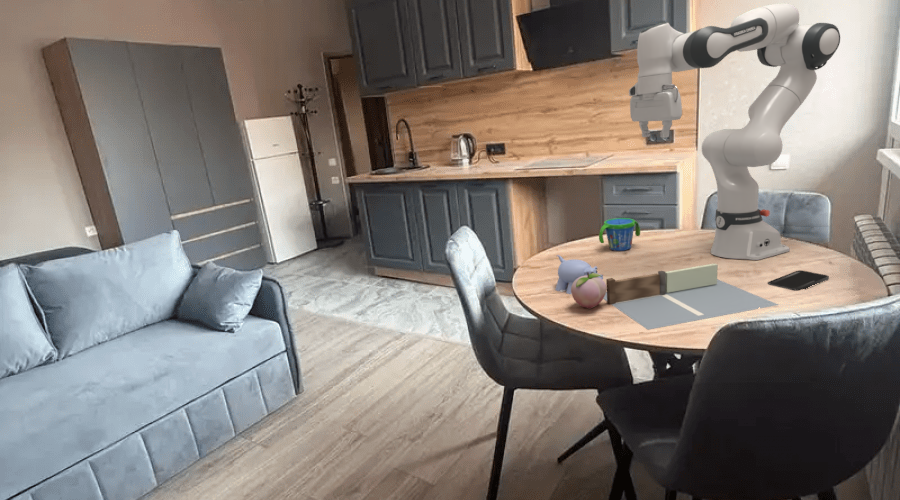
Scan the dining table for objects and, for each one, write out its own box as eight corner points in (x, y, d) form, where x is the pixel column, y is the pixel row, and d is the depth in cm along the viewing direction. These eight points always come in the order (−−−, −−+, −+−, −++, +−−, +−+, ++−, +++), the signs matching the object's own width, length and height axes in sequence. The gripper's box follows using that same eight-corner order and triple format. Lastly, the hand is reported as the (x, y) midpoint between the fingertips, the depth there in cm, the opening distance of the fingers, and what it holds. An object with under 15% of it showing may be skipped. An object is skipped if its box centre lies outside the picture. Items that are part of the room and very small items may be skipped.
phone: (765, 282, 131) (799, 269, 138) (765, 286, 132) (799, 273, 138) (797, 290, 125) (831, 276, 131) (797, 294, 125) (830, 280, 131)
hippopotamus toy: (588, 301, 135) (587, 267, 133) (547, 290, 147) (545, 259, 144) (612, 290, 141) (612, 257, 139) (571, 280, 153) (569, 250, 150)
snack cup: (606, 255, 173) (605, 227, 170) (593, 248, 183) (592, 221, 180) (648, 248, 175) (647, 220, 172) (632, 242, 185) (632, 215, 182)
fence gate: (667, 292, 132) (667, 273, 131) (664, 291, 134) (664, 272, 132) (717, 283, 134) (717, 264, 133) (714, 282, 136) (714, 263, 134)
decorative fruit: (584, 299, 136) (582, 265, 133) (611, 305, 130) (610, 269, 127) (564, 311, 130) (562, 275, 127) (592, 318, 124) (591, 280, 121)
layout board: (705, 275, 143) (705, 274, 143) (778, 306, 118) (778, 304, 118) (595, 294, 138) (595, 293, 138) (647, 331, 114) (647, 329, 113)
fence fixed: (662, 292, 134) (662, 269, 132) (666, 294, 132) (666, 270, 130) (606, 302, 131) (606, 278, 130) (610, 304, 130) (609, 280, 128)
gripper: (688, 82, 128) (688, 136, 132) (645, 88, 148) (646, 135, 152) (666, 84, 128) (666, 139, 131) (625, 90, 147) (626, 138, 151)
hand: (655, 137), depth 142 cm, fingers open, 8 cm apart
